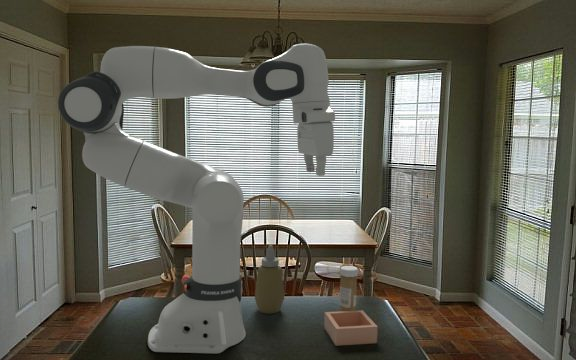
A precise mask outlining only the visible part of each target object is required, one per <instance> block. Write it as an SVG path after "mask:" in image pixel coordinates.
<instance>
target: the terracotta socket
mask: <svg viewBox="0 0 576 360" xmlns="http://www.w3.org/2000/svg"><path fill="white" fill-rule="evenodd" d="M323 325H324V327H323V328H324V330H325V331H326V333H327V334H328V336H329V337H330V340H332V342H333V344H334V346H338V347H339V346H351V345H352V346H353V345H367V344H378V325H377V324H376V323H375V322H374V321H373V320H372V319H371V317H370V316H368V314H366V312H365V311H364V310H362V309H361V310H356V311H340V310H339V311H324V323H323Z"/></svg>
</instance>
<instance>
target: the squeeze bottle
mask: <svg viewBox="0 0 576 360" xmlns="http://www.w3.org/2000/svg"><path fill="white" fill-rule="evenodd" d="M279 262H280V259H279V257H276V256H275V250H274V245H273V244H269V245H268V247H267V250H266V254H265V256H264V257H262V258H261V265H260V266H259V267H258V268H257V274H256V281H255V282H256V283H255V293H254V300H255V303H256V306H257V310H258V312H259V313H263V314H271V315H272V314H277V313H278V312H280V310H281V308H282V305H283V303H284V300H285V291H284V279H283V277H284V276H283V268H282V267H281V265H279Z"/></svg>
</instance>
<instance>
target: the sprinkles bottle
mask: <svg viewBox="0 0 576 360" xmlns="http://www.w3.org/2000/svg"><path fill="white" fill-rule="evenodd" d="M358 271H359V269H358V267H356V266H353V265H343V266H341V267H340V272H339V274H340V286H339V312H340V311H357V285H358V283H357V281H358V279H357V278H358V275H359V272H358Z"/></svg>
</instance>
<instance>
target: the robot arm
mask: <svg viewBox="0 0 576 360" xmlns="http://www.w3.org/2000/svg"><path fill="white" fill-rule="evenodd" d="M329 83H330V82H329V69H328V62H327V57H326V55H325V52H324V50H323V49H322V48H321V47H320V46H318V45H315V44H312V43H297V44H294V45H291V47H290V48H289V49H288V50H286V51H285V52H283V53H282V54H280V55H278V56H276V57H274V58H272V59H268V60H266V61H262V63H260V64H259V65H258V66H257V67H256V68H254V69H251V70H235V69H226V68H217V67H212V66H210V65H209V66H208V65H206V64H204V63H202V62H200V61H198V60H197V59H196V58H195V57H193V56H192V55H190V54H189V53H187V52H184V51H180V50H177V49H172V48H169V47H160V46H148V45H147V46H145V45H129V46H118V47H117V46H116V47H112V48H110V49H108V50H107V51H105V53H104V55H103V56H102V60H101V63H100V71H97V70H96V71H95V70H94V71H92V72H90V73H88V74H86V75H83V76H82V77H79V78H76V79H75V80H73V81H71V82H70V83H68V84H66V85H65V86H64V88H62V90H61V92H60V94H59V96H58V101H57V106H58V110H59V113H60V114H59V115H60V116H61V117H62V119H63V120H64V122H66V123H67V124H68V125H69V126H70V127H71V128H73V129H74V130H76V131H79V132H82V133H83V135H84V138H85V142H84V144H83V146H82V151H81V152H82V153H81V156H82V162H83V163H84V166H85V167H86V168H88V169H89V170H91V171H92V172H93V173H95V174H97V175H98V176H100V177H102V178H104V179H106V180H108V181H110V182H113V183H114V184H117V185H119V186H121V187H125V188H127V189H129V190H132V191H135V192H138V193H140V194H142V195H145V196H148V197H150V198H154V199H156V200H159V201H163V202H164V201H165V202H168V203H172V204H175V205H180V206H183V207H186V208H190V209H192V211H191V212H192V229H191V230H192V234H191V235H192V237H191V238H192V241H191V242H192V247H191V248H192V249H191V251H192V257H191V258H192V261H191V269H192V271H191V276H190V275H189V274H184V275H183V276H182V277H181V283H182V294H180V295H178V296H177V297H176V298H175V299H174V300H172V301H171V302H169V303H168V304H166V305H165V307H164V308H163V309H162V311H161V312H160V316H159V318H158V323H157V324H155V325H154V326H152V327H151V329H150V330H149V332H148V335H147V345H148V348H149V349H150V350H151V351H152V352H155V353H186V354H188V353H190V354H221V353H222V352H224V351H226V349H229V348H230V347H233V346H235V345H237V344H239V343H240V342H242V341H243V340H244V339H245V338H246V334H247V332H246V329H245V325H244V322H243V321H244V320H243V316H242V307H241V301H242V297H243V296H242V295H243V280H242V276H241V274H240V273H241V241H242V231H243V229H242V228H243V217H244V193H243V192H244V191H243V190H242V188H241V185H240V184H239V183H238V182H237V180H236V179H235V178H234V176H232V175H231V174H230V173H229V172H227V171H225V170H223V169H220V168H217V167H215V166H211V165H209V164H205V163H203V162H201V161H198V160H195V159H192V158H189V157H186V156H185V155H184V156H183V155H181V154H178V153H176V152H173V151H171V150H168V149H166V148H163V147H160V146H158V145H156V144H153V143H150V142H148V141H145V140H143V139H141V138H137V137H135V136H133V135H131V134H129V133H127V132H125V131H124V130H123V128H124V125H123V124H124V116H125V115H124V113H125V106H124V103H125V102H126V101H128V100H130V99H133V98H145V99H146V98H147V99H159V100H160V99H161V100H162V99H163V100H166V99H167V100H168V99H169V100H170V99H182V98H191V97H195V96H202V95H215V96H226V97H234V98H235V97H238V98H244V99H247V100H248V101H250V102H252V103H254V104H255V105H258V106H259V107H260V106H261V107H265V108H269V107H274V106H276V105H278V104H280V103H281V102H283V101H286V100H290V101H291V104H292V105H291V106H292V119H293V124H295V125H296V124H297V130H296V131H297V133H296V135H297V149H298V153H300V154H303V158H304V162H305V168H306V169H305V170H306V172H307V173H314V172H315V175H316V176H318V177H322V176H325V175H326V164H327V157H331V156H332V155H333V153H334V147H335V146H334V143H335V142H334V141H335V140H334V137H335V135H334V134H335V131H334V124H333V122H335V121H336V113H335V111H334V110H333V109H332V107H331V102H330V97H329V92H328V88H329ZM314 157H315V161H316V163H315V164H316V166H315V164H314Z"/></svg>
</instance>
